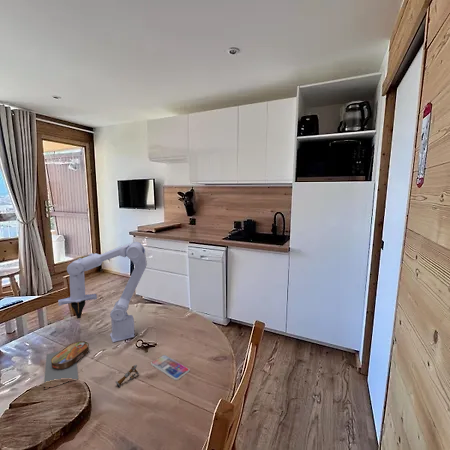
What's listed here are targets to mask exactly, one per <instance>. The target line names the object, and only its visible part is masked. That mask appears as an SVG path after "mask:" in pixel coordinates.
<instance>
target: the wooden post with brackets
mask: <svg viewBox="0 0 450 450" xmlns="http://www.w3.org/2000/svg"><path fill="white" fill-rule="evenodd" d="M137 367H138V365H137V364H134V365H133V366H131V367H130V369H129V370H128V371H127V372H126V373H125V374H124V375H123V376H122V377H121V378H120V379H119V380H118V381H117V380H116V381H115V384H116V385H117V386H118V387H119V388H121V385H122V384H123V383H124V381H125V380H126V379H128V378H129V381H131V380H133V379H134V378H135V377H136V375H137V376H139V375H140V373H139V371H138V370H137ZM132 373H133V374H132Z"/></svg>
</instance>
